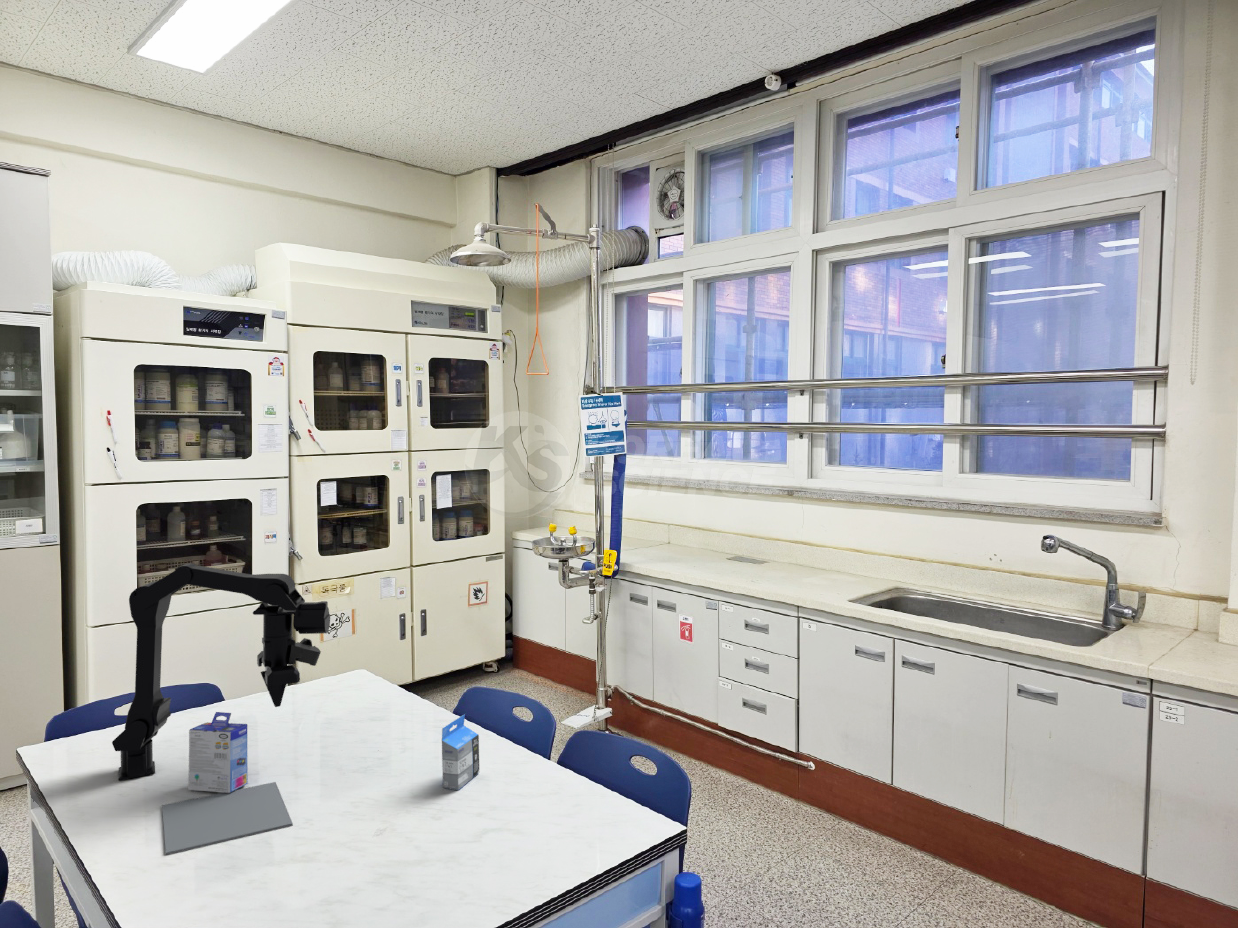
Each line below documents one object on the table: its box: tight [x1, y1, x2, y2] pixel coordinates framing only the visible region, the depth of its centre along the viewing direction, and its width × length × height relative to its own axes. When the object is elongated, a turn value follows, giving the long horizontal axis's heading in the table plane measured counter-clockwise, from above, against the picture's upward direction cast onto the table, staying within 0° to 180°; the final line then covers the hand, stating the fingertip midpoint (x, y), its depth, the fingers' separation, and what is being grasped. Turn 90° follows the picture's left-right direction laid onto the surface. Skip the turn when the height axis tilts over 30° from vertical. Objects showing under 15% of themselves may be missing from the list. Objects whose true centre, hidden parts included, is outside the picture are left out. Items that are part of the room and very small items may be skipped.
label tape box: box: [441, 713, 480, 791], centre depth 163 cm, size 9×4×12 cm, turn 161°
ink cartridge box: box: [188, 711, 249, 793], centre depth 158 cm, size 10×6×14 cm, turn 79°
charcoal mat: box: [161, 781, 293, 856], centre depth 147 cm, size 20×20×1 cm
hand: (277, 706), depth 169 cm, fingers closed
